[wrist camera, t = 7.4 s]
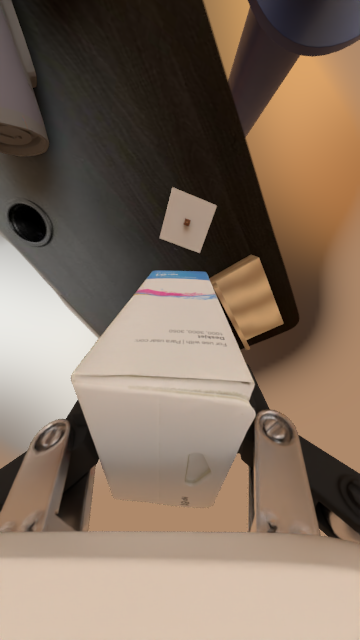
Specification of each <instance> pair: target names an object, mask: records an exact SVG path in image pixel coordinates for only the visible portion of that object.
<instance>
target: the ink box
mask: <svg viewBox="0 0 360 640" xmlns="http://www.w3.org/2000/svg"><path fill="white" fill-rule="evenodd" d="M71 381H72V384H73V386H74V389H75V392H76V395H77V397H78V400H79V403H80V406H81V408H82V411H83V414H84V417H85V419H86V422H87V425H88V428H89V431H90V433H91V436H92V439H93V442H94V445H95V447H96V450H97V453H98V456H99V459H100V462H101V465H102V468H103V470H104V473H105V476H106V479H107V481H108V484H109V487H110V490H111V493H112V496H113V498H114V499H120V500H127V501H140V502H149V503H157V504H163V505H171V506H181V507H193V508H208V507H211V506H213V505H214V503H215V499H216V497H217V495H218V493H219V491H220V489H221V486H222V484H223V482H224V480H225V478H226V476H227V474H228V471H229V469H230V467H231V465H232V463H233V461H234V458H235V456H236V454H237V452H238V450H239V448H240V445H241V443H242V441H243V439H244V437H245V435H246V433H247V430H248V429H249V427H250V425H251V424H252V422H253V420H254V418H255V415H256V413H255V410H254V409H253V408H252V406H251V405H250V403H249V400H250V397H251V394H252V391H253V389H254V386H255V383H254V380H253V378H252V376H251V373H250V371H249V369H248V367H247V365H246V363H245V361H244V358H243V356H242V354H241V351H240V349H239V347H238V344H237V342H236V340H235V337H234V335H233V333H232V330H231V328H230V326H229V323H228V321H227V319H226V316H225V314H224V312H223V309H222V307H221V305H220V303H219V300H218V298H217V296H216V294H215V291H214V289H213V286H212V284H211V282H210V280H209V277H208V275H207V273H206V272H196V271H152V272H151V274H150V275H149V276H148V278H147V279H146V280H145V281H144V283H143V284H142V285H141V287H140V288H139V289H138V290H137V292H136V293H135V294H134V296H133V297H132V298H131V299H130V301H129V302H128V303H127V304H126V305H125V307H124V308H123V309H122V310H121V312H120V313H119V314H118V315H117V317H116V318H115V319H114V320H113V322H112V323H111V324H110V326H109V327H108V328H107V329H106V331H105V332H104V333H103V334H102V336H101V337H100V338H99V339H98V341H97V342H96V343H95V345H94V346H93V347H92V348H91V350H90V351H89V352H88V354H87V355H86V356H85V357H84V359H83V360H82V361H81V363H80V364H79V365H78V367H77V368H76V369H75V371H74V372H73V373H72V375H71Z"/></svg>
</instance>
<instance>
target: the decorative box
mask: <svg viewBox="0 0 360 640" xmlns="http://www.w3.org/2000/svg"><path fill="white" fill-rule="evenodd" d="M216 207H217V205H214V204H212V203H209V202H207V201H205V200H202V199H200V198H197V197H195V196H193V195H190V194H188V193H185V192H183V191H181V190H178V189H176V188H173V187H172V191H171V194H170V198H169V202H168V206H167V210H166V214H165V218H164V222H163V226H162V230H161V234H160V239H163V240H166V241H168V242H171V243H174V244H176V245H179V246H182V247H185V248H187V249H190V250H193V251H195V252H198V253H200V251H201V248H202V245H203V243H204V240H205V237H206V234H207V232H208V229H209V226H210V223H211V221H212V218H213V215H214V213H215V210H216Z"/></svg>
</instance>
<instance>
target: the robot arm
mask: <svg viewBox="0 0 360 640" xmlns="http://www.w3.org/2000/svg"><path fill="white" fill-rule="evenodd" d="M246 365H247V367H248V369H249V371H250V373H251V376H252V378H253V380H254V383H255V386H254V389H253V391H252V394H251V397H250V400H249V403H250V405H251V406H252V408H253V409H254V410H255V413H256V415H255V418H254V420H253V422H252V424H251V425H250V427H249V429H248V430H247V433H246V435H245V437H244V439H243V441H242V443H241V445H240V448H239V450H238V452H237V453H240V454H241V459H242V460H243V461H244V462H245V463H246V464H247V465H248V511H247V532H88V529H89V520H90V510H91V502H92V493H93V484H94V474H95V466H96V464H97V462H98V460H99V456H98V453H97V450H96V447H95V445H94V442H93V439H92V436H91V433H90V431H89V428H88V425H87V422H86V419H85V417H84V414H83V411H82V408H81V406H80V403H79V400H77V402H76V404H75V405H74V407H73V409H72V410H71V412H70V413H69V415H68V416H67V418H66V419H58V420H55V421H53V422H51V423H49V424H47V425H46V426H44V427H43V428H42V429H41V430H40V431H39V432H38V433H37V434H36V435H35V437H34V438H33V440H32V442H31V444H30V446H29V449H28V451H26V452H25V453H23V454H22V455H21V456H19V457H17V458H16V459H14V460H13V461H12V462H10V463H9V464H7V465H6V466H4V467H3V468H1V469H0V640H360V474H359V473H358V472H356V471H354V470H353V469H351V468H350V467H348V466H347V465H345V464H343V463H341V462H340V461H339V460H337V459H336V458H334V457H332V456H331V455H329V454H327V453H326V452H324V451H323V450H321V449H320V448H318V447H317V446H315V445H313V444H312V443H310V442H309V441H307V440H305V439H304V438H302V437H301V436H299V435H298V432H297V430H296V427H295V425H294V424H293V423H292V421H291V420H290V419H289V418H288V417H286V416H285V415H284V414H282V413H280V412H278V411H275V410H270V409H269V407H268V405H267V403H266V401H265V399H264V397H263V394H262V392H261V390H260V388H259V386H258V384H257V382H256V380H255V377H254V376H253V373H252V371H251V369H250V367H249V365H248V364H246ZM319 529H320V530H322V531H323V532H324V533H325V534H326V535H327V536H328V537H327V536H321V535H320V531H319Z"/></svg>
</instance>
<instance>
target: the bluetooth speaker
mask: <svg viewBox="0 0 360 640" xmlns="http://www.w3.org/2000/svg"><path fill="white" fill-rule="evenodd" d="M36 85H37V79H36V73H35V70H34V66H33V63H32V60H31V57H30V54H29V51H28V48H27V45H26V42H25V39H24V36H23V33H22V30H21V27H20V24H19V21H18V18H17V16H16V13H15V10H14V7H13V4H12V1H11V0H0V152H2V153H6V154H11V155H15V156H35V155H39V154H42V153H44V152H46V151H47V149H48V147H49V141H48V137H47V133H46V129H45V126H44V122H43V119H42V116H41V113H40V110H39V107H38V104H37V101H36V97H35V94H34V91H33V88H34V87H36Z"/></svg>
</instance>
